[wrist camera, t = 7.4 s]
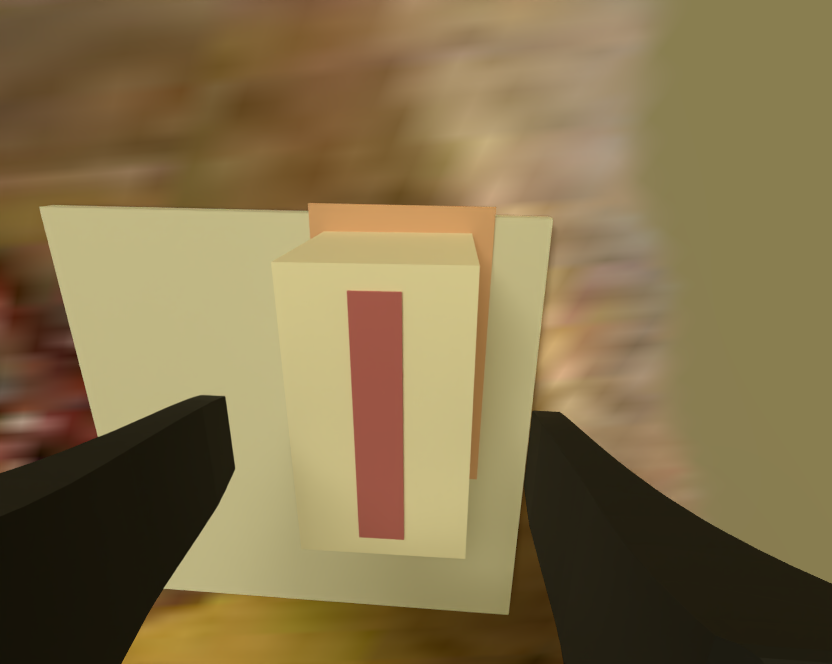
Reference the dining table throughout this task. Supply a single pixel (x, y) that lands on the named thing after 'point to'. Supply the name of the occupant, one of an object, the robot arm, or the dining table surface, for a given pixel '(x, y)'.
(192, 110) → the dining table surface
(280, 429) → the mat
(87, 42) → the dining table surface
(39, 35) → the dining table surface
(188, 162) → the dining table surface
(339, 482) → the card box
